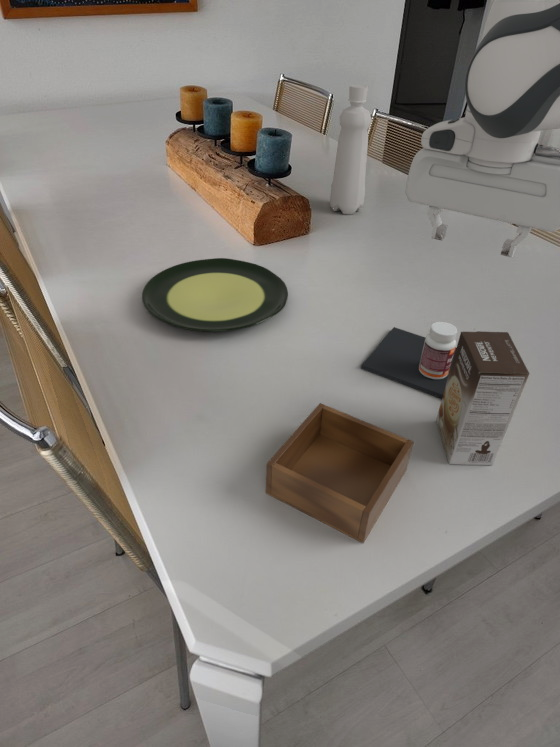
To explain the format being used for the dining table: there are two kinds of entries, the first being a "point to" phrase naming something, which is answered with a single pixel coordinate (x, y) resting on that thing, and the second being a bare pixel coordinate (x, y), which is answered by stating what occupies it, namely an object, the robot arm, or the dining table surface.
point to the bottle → (351, 154)
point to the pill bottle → (438, 350)
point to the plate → (215, 295)
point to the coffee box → (480, 397)
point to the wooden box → (339, 470)
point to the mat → (403, 362)
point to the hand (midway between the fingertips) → (471, 246)
